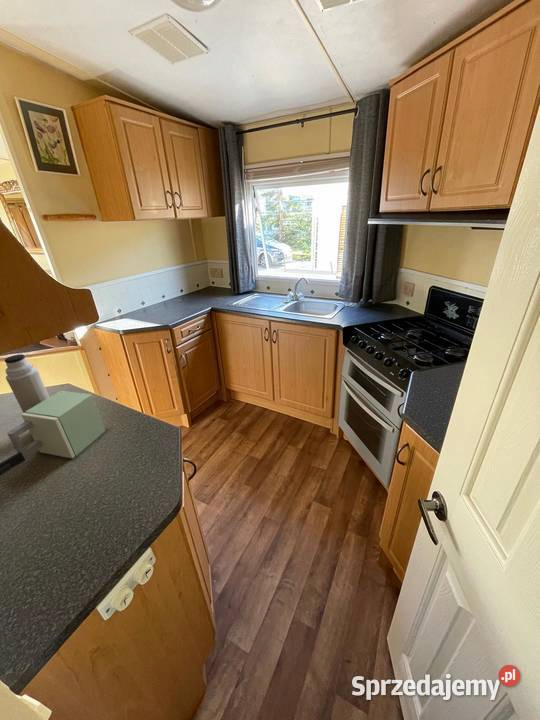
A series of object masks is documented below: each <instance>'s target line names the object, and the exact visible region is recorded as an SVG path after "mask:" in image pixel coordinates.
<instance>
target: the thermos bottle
mask: <svg viewBox="0 0 540 720" xmlns="http://www.w3.org/2000/svg"><path fill="white" fill-rule="evenodd" d="M4 363H5V365H6V367H7V368H6V369H5V374H6V376H5V380H6V381H7V384H8V386H9V387H10V389H11V391H12V393H13V395H14V397H15V399H16V401H17V403H18V405H19V407H20V409H21V411H22V414H23V413H25V411H27V410H29V409H31V408H32V407H34V406H36V405H37V404H39V403H41V402H42V401H44V400H46V399H47V398H49V397H50V395H49V392H48V391H47V388H46V386H45V384H44V382H43V380H42V377H41V375H40V373H39V370H38V369H37V368H36V367H33V366H34V364H32V363H31V362H29V361H27V359H26V356H25V355H24V354H23V353H22V354H21V353H20V354H19V353H18V354H15V355H11V356H7V357H6V358H4Z"/></svg>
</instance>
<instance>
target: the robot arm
mask: <svg viewBox="0 0 540 720" xmlns="http://www.w3.org/2000/svg"><path fill="white" fill-rule="evenodd" d="M24 461H26V458H24V456H23V455H22V453H21V452H16V453H15V454H13V455H11V456H10V457H8V458H6V459H4V460H3V461H2V462H0V477H1V476H3V475H4V474H6V473H7V472H9V471H11V470H12V469H14V468H15V467H17V466H18V465H20V464H22V463H23V462H24Z"/></svg>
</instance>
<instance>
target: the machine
mask: <svg viewBox="0 0 540 720" xmlns="http://www.w3.org/2000/svg"><path fill="white" fill-rule="evenodd" d="M25 413H29V414H36V415H42V416H49V417H55V418H58V419H59V421H60V424H61V426H62V428H63V430H64V433H65V435H66V437H67V439H68V441H69V444H70V446H71V448H72V450H73V453H74V455H75V457H77V456H78V455H79V454H80V453H82V452H83V451H84V450H85V449H87V447H89V446H90V445H91V444H92V443H93V442H95V441H96V440H97V439H98V438H99V437H101V435H103V434H104V433H105V432H106V429H105V425H104V423H103V420H102V417H101V415H100V413H99V410H98V406H97V405H96V402H95V399H94V397H93V394H92V393H91V394H90V393H83V392H76V391H75V392H74V391H68V390H67V391H66V390H59V391H58V392H56V393H54V394H52V395H50V396H49V398H47V399H46V400H44V401H42V402H41V403H39V404H37V405H36V406H34V407H32V408H31V409H29V410H27V411H25Z"/></svg>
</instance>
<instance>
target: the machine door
mask: <svg viewBox="0 0 540 720" xmlns="http://www.w3.org/2000/svg"><path fill="white" fill-rule="evenodd" d="M20 415H21V418H22V419H23V422H22V423H20V424H19V425H17V426H16V427H14V428H12V429H11V430H9V431H8V432H7V433H6V434H7V437H8V438H9V440H10V441H11V444H12V445H13V447H14V448H15V450H16V453H18V452H21V453H22V455H23V456H24V458H25V459H26V458H27V457H29V456H30V455H32V454H33V453H35V452H36V451H37V450H39V452H40V453H42V454H47V455H52V456H56V457H57V456H58V457H62V458H68V459H74V458H75V457H76V456H75V455H74V453H73V450H72V448H71V446H70V444H69V441H68V439H67V437H66V435H65V433H64V430H63V428H62V426H61V424H60V421H59V419H58V418H55V417H49V416H42V415H36V414H29V413H23V412H22V413H21V414H20ZM27 431H29V433H30V436H31V438H32V439H33V441H32V442H31V443H29V444H28V445H26V447H25V446H24V444H23V442H22V439H20V436H21V435H23V434H24V433H26V432H27Z"/></svg>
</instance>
